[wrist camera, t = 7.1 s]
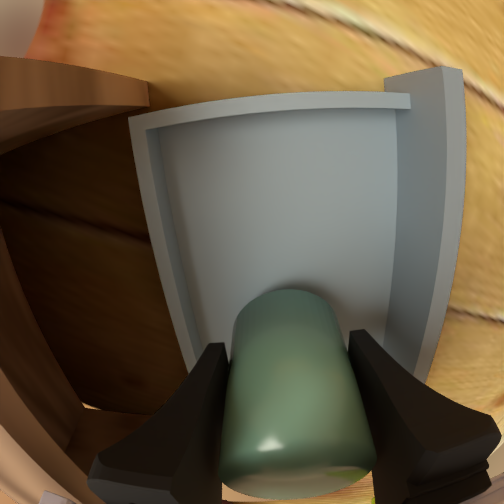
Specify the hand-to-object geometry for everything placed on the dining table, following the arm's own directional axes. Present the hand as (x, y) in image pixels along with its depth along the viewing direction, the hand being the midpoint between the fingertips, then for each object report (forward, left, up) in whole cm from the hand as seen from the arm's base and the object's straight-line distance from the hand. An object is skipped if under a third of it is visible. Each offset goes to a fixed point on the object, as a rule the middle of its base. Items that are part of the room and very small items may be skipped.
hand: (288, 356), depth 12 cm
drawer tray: (0, 0, -5) cm, 5 cm away
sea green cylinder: (0, 0, -2) cm, 2 cm away
